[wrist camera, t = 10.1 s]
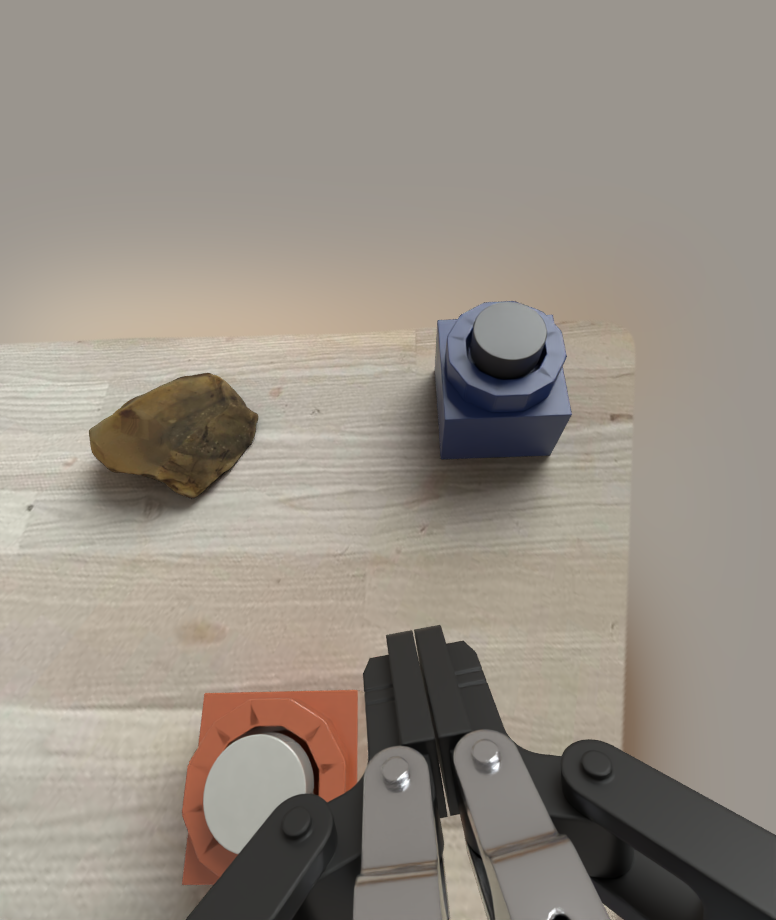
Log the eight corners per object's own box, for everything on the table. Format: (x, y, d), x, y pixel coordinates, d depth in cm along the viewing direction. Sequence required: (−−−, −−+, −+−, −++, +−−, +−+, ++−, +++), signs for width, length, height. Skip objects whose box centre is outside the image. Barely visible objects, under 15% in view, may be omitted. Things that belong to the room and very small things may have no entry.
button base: (367, 692, 32) (353, 688, 25) (367, 850, 29) (351, 898, 22) (239, 695, 33) (189, 692, 26) (224, 852, 29) (162, 900, 22)
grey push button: (534, 321, 34) (541, 299, 33) (544, 378, 33) (552, 358, 31) (467, 324, 35) (470, 303, 33) (473, 381, 33) (476, 361, 31)
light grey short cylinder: (316, 731, 25) (308, 733, 23) (312, 844, 23) (303, 856, 21) (224, 732, 25) (209, 735, 23) (213, 845, 23) (195, 857, 21)
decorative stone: (198, 365, 44) (181, 338, 41) (277, 427, 41) (265, 403, 38) (96, 454, 41) (68, 432, 37) (173, 527, 38) (150, 511, 34)
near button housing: (535, 364, 42) (560, 294, 35) (550, 455, 39) (581, 398, 31) (434, 369, 42) (438, 299, 35) (440, 459, 39) (446, 403, 32)
